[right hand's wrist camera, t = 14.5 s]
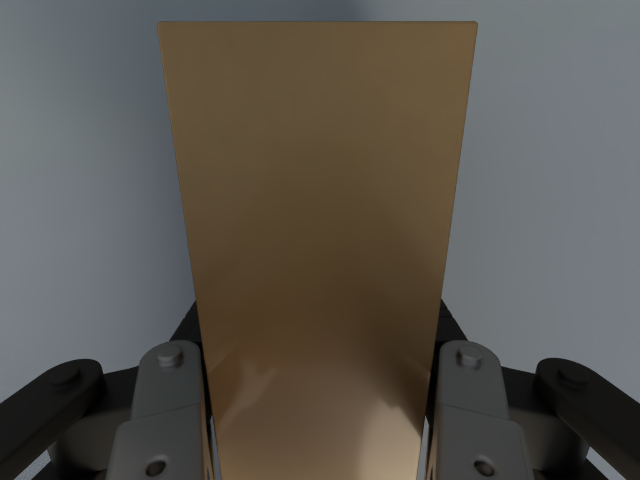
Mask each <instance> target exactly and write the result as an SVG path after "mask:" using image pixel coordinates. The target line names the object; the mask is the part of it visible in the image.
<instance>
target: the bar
mask: <svg viewBox="0 0 640 480" xmlns="http://www.w3.org/2000/svg"><path fill="white" fill-rule="evenodd" d="M477 28H478V23H477V22H475V21H194V22H159V23H157V29H158V36H159V43H160V50H161V57H162V64H163V71H164V78H165V85H166V92H167V99H168V106H169V113H170V120H171V127H172V134H173V141H174V148H175V155H176V162H177V169H178V177H179V184H180V191H181V198H182V205H183V212H184V219H185V226H186V233H187V240H188V247H189V254H190V261H191V268H192V275H193V282H194V289H195V296H196V303H197V310H198V317H199V324H200V331H201V338H202V345H203V352H204V360H205V367H206V374H207V381H208V388H209V395H210V402H211V409H212V416H213V423H214V430H215V437H216V444H217V451H218V458H219V465H220V472H221V479H222V480H417V473H418V465H419V458H420V450H421V443H422V436H423V428H424V421H425V413H426V406H427V398H428V391H429V384H430V376H431V369H432V361H433V354H434V347H435V339H436V332H437V324H438V317H439V309H440V302H441V295H442V287H443V280H444V272H445V265H446V258H447V250H448V243H449V235H450V228H451V221H452V213H453V206H454V198H455V191H456V183H457V176H458V169H459V161H460V154H461V146H462V139H463V132H464V124H465V117H466V109H467V102H468V94H469V87H470V80H471V72H472V65H473V57H474V50H475V43H476V35H477Z"/></svg>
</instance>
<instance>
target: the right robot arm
mask: <svg viewBox="0 0 640 480" xmlns="http://www.w3.org/2000/svg"><path fill="white" fill-rule="evenodd" d="M425 415H426V418H427V421H428V424H429V430H428V439H427V452H426V465H425V478H424V480H608V479H607V478H606V477H605V476H604V475H603V474H602V473H601V472H600V471H599V470H598V469H597V468H596V467H595V466H594V465H593V464H592V463H591V462H590V461H589V460H588V459H587V458H586V456H587V453H588V450H589V448H590V446H591V447H592V448H593V449H594V450H595V451H596V452H597V453H598V454H599V455H600V456H601V457H602V458H604V459H605V460H606V461H607V462H608V463H609V464H610V465H611V466H612V467H613V468H614V469H615V470H617V471H618V472H619V473H620V474H621V475H622V476H623V477H624V478H625V479H626V480H640V403H638V402H637V401H635V400H634V399H632V398H631V397H630V396H628V395H627V394H625V393H624V392H623V391H621V390H620V389H618V388H617V387H616V386H614V385H613V384H611V383H610V382H609V381H607V380H606V379H604V378H603V377H601V376H600V375H599V374H597V373H596V372H594V371H593V370H591V369H589V368H588V367H586V366H584V365H581V364H579V363H576V362H574V361H570V360H566V359H561V358H547V359H543V360H541V361H540V362H539V363H538V365H537V368H536V372H535V374H534V373H529V372H524V371H520V370H515V369H510V368H506V367H503V366H501V364H500V361H499V359H498V357H497V356H496V355H495V354H494V353H493V352H492V351H491V350H489V349H488V348H486V347H484V346H482V345H480V344H477V343H474V342H471V341H468V339H467V338H466V336H465V335H464V333H463V332H462V330H461V329H460V327H459V325H458V324H457V322H456V321H455V319H454V318H453V317H452V314H451V313H450V311H449V310H448V308H447V307H446V305H445V303H444V302H443V300H442V299H441V302H440V309H439V317H438V324H437V332H436V339H435V347H434V354H433V361H432V369H431V376H430V384H429V391H428V398H427V406H426V413H425ZM211 416H212V409H211V402H210V395H209V388H208V381H207V374H206V367H205V360H204V352H203V345H202V338H201V331H200V324H199V317H198V310H197V303H196V300H195V302H194V303H193V305H192V307H191V308H190V310H189V311H188V313H187V314H186V316H185V318H184V319H183V320H182V322H181V324H180V325H179V327H178V328H177V330H176V331H175V333H174V334H173V336H172V337H171V339H170V341H169V342H165V343H163V344H160V345H158V346H156V347H154V348H152V349H151V350H149V351H148V352H147V353H146V354H145V355H144V356H143V357H142V359H141V361H140V364H139V366H136V367H133V368H129V369H125V370H120V371H116V372H111V373H106V374H103V371H102V367H101V365H100V363H99V362H97V361H95V360H92V359H78V360H72V361H69V362H65V363H62V364H60V365H57V366H55V367H53V368H51V369H49V370H47V371H46V372H44V373H43V374H41V375H40V376H38V377H37V378H36V379H34V380H33V381H31V382H30V383H29V384H27V385H26V386H24V387H23V388H22V389H20V390H19V391H17V392H16V393H15V394H13V395H12V396H10V397H9V398H8V399H6V400H5V401H3V402H2V403H0V480H14V479H15V478H16V477H17V476H18V475H19V474H20V473H21V472H22V471H23V470H24V469H26V468H27V467H28V466H29V465H30V464H31V463H32V462H33V461H34V460H35V459H36V458H38V457H39V456H40V455H41V454H42V453H43V452H44V451H45V450H46V449H47V451H48V453H49V456H50V459H51V461H50V462H49V463H48V464H47V465H46V466H45V467H44V468H43V469H42V470H41V471H40V472H39V473H38V474H37V475H36V476H35V477H34V478H33V479H31V480H216V479H215V466H214V453H213V440H212V430H211V423H210V419H211Z"/></svg>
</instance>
